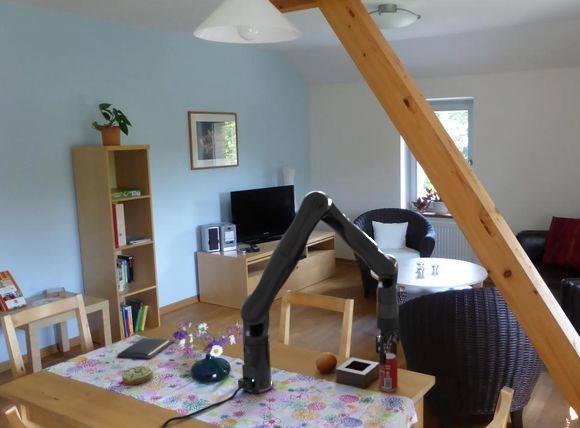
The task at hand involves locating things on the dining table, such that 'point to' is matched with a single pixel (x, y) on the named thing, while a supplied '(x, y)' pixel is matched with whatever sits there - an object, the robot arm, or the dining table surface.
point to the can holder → (357, 372)
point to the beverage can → (388, 373)
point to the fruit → (326, 362)
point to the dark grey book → (145, 348)
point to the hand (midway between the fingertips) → (388, 359)
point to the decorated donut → (137, 374)
